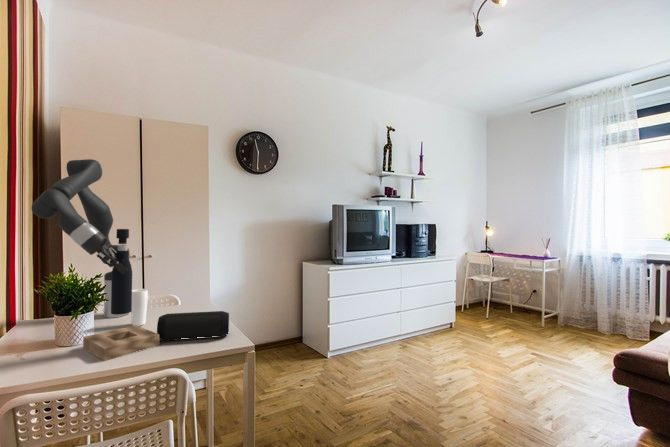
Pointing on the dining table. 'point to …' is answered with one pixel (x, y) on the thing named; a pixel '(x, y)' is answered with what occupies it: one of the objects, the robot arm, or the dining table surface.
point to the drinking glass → (139, 306)
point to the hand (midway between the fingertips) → (127, 270)
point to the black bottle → (122, 278)
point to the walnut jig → (120, 342)
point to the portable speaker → (193, 325)
